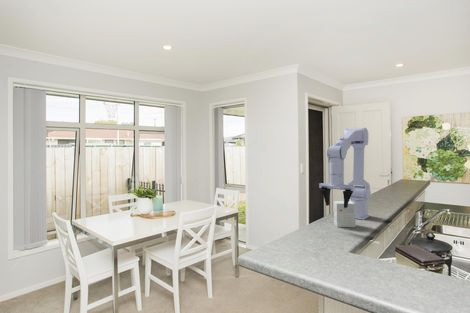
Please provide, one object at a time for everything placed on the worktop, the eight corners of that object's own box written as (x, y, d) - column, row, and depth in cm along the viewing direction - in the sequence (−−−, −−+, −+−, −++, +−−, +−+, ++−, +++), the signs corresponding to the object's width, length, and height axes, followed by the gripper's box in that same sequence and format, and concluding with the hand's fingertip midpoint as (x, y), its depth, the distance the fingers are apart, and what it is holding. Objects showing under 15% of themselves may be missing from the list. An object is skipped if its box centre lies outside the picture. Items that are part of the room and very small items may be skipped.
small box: (351, 224, 130) (351, 201, 130) (355, 227, 125) (355, 203, 124) (333, 223, 131) (333, 200, 131) (336, 227, 126) (336, 203, 125)
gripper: (316, 174, 122) (316, 205, 122) (350, 176, 112) (350, 210, 113) (323, 172, 127) (323, 203, 128) (356, 174, 118) (356, 207, 118)
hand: (336, 206), depth 121 cm, fingers open, 7 cm apart
